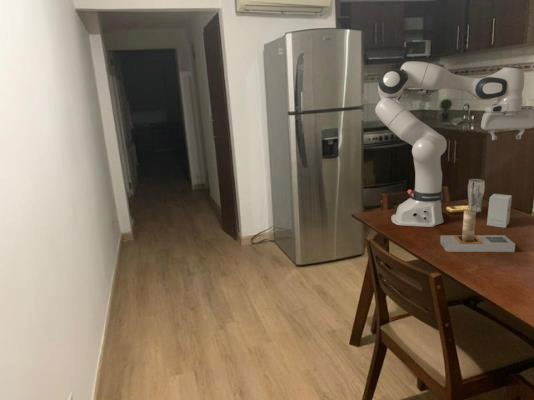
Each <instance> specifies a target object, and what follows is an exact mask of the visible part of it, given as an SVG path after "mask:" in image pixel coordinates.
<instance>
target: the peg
mask: <svg viewBox="0 0 534 400" xmlns="http://www.w3.org/2000/svg"><path fill="white" fill-rule="evenodd" d="M476 219H477V213H476V211H473V210H467V209H465V210H464V211H463V220H462V232H461V233H462V242H474V235H475V230H476Z"/></svg>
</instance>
